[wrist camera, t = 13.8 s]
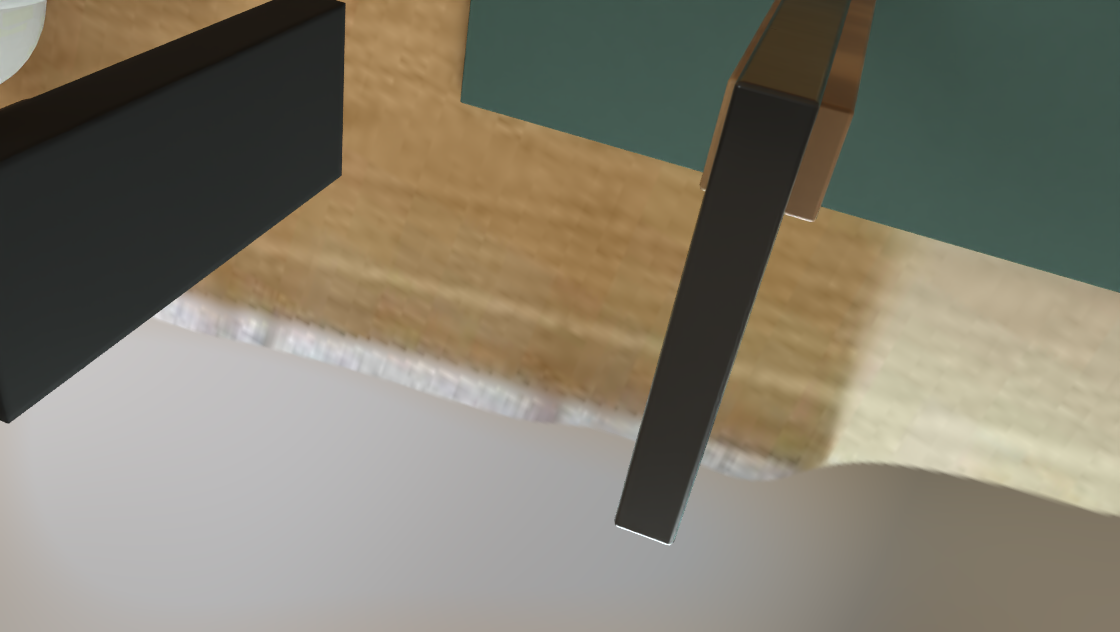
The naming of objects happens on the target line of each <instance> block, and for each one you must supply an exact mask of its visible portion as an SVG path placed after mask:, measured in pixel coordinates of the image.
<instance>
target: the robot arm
mask: <svg viewBox="0 0 1120 632" xmlns="http://www.w3.org/2000/svg"><path fill="white" fill-rule="evenodd" d="M344 45H345V3H344V2H340V1H336V0H272V1H270V2H267V3H265V4H262V5H260V6H257V7H255V8H252V9H250V10H247V11H245V12H242V13H240V14H238V15H235V16H233V17H230V18H228V19H225V20H223V21H220V22H218V23H215V24H213V25H210V26H208V27H206V28H203V29H201V30H198V31H196V32H193V33H191V34H188V35H186V36H183V37H181V38H178V39H176V40H174V41H171V42H169V43H166V44H164V45H161V46H159V47H156V48H154V49H151V50H149V51H146V52H144V53H142V54H139V55H137V56H134V57H132V58H129V59H127V60H124V61H122V62H119V63H117V64H114V65H112V66H110V67H107V68H105V69H102V70H100V71H97V72H95V73H92V74H90V75H87V76H85V77H82V78H80V79H78V80H75V81H73V82H70V83H68V84H65V85H63V86H60V87H58V88H55V89H53V90H50V91H48V92H46V93H43V94H41V95H38V96H36V97H33V98H30V99H25V100H21V101H19V102H16V103H14V104H11V105H9V106H6V107H4V108H1V109H0V420H1V421H3V422H5V423H10V422H11V421H13V420H14V419H15V418H17V417H18V416H20V415H21V414H22V413H24V412H25V411H26V410H28V409H29V408H30V407H32V406H33V405H34V404H36V403H37V402H38V401H40V400H41V399H42V398H44V397H45V396H46V395H48V394H49V393H50V392H52V391H53V390H54V389H56V388H57V387H59V386H60V385H61V384H62V383H64V382H65V381H67V380H68V379H69V378H71V377H72V376H73V375H74V374H76V373H77V372H79V371H80V370H81V369H83V368H84V367H85V366H87V365H88V364H89V363H90V362H92V361H93V360H95V359H96V358H97V357H99V356H100V355H101V354H103V353H104V352H105V351H107V350H108V349H109V348H111V347H112V346H114V345H115V344H116V343H118V342H119V341H120V340H121V339H123V338H124V337H126V336H127V335H128V334H130V333H131V332H132V331H134V330H135V329H136V328H138V327H139V326H140V325H142V324H143V323H144V322H146V321H147V320H148V319H150V318H151V317H152V316H154V315H155V314H156V313H158V312H159V311H160V310H162V309H163V308H164V307H166V306H167V305H169V304H170V303H171V302H173V301H174V300H175V299H177V298H178V297H179V296H181V295H182V294H183V293H185V292H186V291H187V290H189V289H190V288H191V287H193V286H194V285H195V284H197V283H198V282H199V281H201V280H202V279H203V278H205V277H206V276H207V275H209V274H210V273H211V272H213V271H214V270H215V269H217V268H218V267H219V266H221V265H222V264H224V263H225V262H226V261H228V260H229V259H230V258H232V257H233V256H234V255H236V254H237V253H238V252H240V251H241V250H242V249H244V248H245V247H246V246H248V245H249V244H250V243H252V242H253V241H254V240H256V239H257V238H258V237H260V236H261V235H262V234H264V233H265V232H266V231H268V230H269V229H270V228H272V227H273V226H274V225H276V224H277V223H279V222H280V221H281V220H283V219H284V218H285V217H287V216H288V215H289V214H291V213H292V212H293V211H295V210H296V209H297V208H299V207H300V206H301V205H303V204H304V203H305V202H307V201H308V200H309V199H311V198H312V197H313V196H315V195H316V194H317V193H319V192H320V191H321V190H323V189H324V188H325V187H327V186H328V185H329V184H331V183H332V182H334V181H335V180H336V179H338V178H339V177H340V176H342V134H343V89H344Z"/></svg>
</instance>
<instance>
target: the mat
mask: <svg viewBox="0 0 1120 632" xmlns="http://www.w3.org/2000/svg"><path fill="white" fill-rule="evenodd" d="M774 1H775V0H471V3H470V13H469V23H468V33H467V42H466V52H465V62H464V72H463V82H462V92H461V102H462V103H465V104H469V105H472V106H476V107H479V108H482V109H486V110H489V111H493V112H496V113H500V114H503V115H507V116H510V117H514V118H517V119H521V120H524V121H527V122H531V123H534V124H538V125H541V126H545V127H548V128H552V129H555V130H559V131H562V132H566V133H569V134H572V135H576V136H579V137H583V138H586V139H590V140H593V141H597V142H600V143H604V144H607V145H610V146H614V147H617V148H621V149H624V150H628V151H631V152H635V153H638V154H642V155H645V156H649V157H652V158H655V159H659V160H662V161H666V162H669V163H673V164H676V165H680V166H683V167H687V168H690V169H694V170H697V171H700V172H703V171H704V168H705V164H706V160H707V156H708V153H709V149H710V145H711V142H712V138H713V134H714V131H715V127H716V123H717V120H718V116H719V112H720V109H721V105H722V101H723V97H724V94H725V90H726V86H727V83H728V80H729V78H730V77H731V75H732V73H733V71H734V70H735V68H736V66H737V64H738V63H739V61H740V59H741V58H742V56H743V54H744V52H745V51H746V49H747V47H748V45H749V44H750V42H751V40H752V39H753V37H754V35H755V33H756V32H757V30H758V28H759V27H760V25H761V23H762V21H763V20H764V18H765V16H766V14H767V13H768V11H769V9H770V8H771V6H772V4H773V2H774ZM821 207H825V208H828V209H832V210H835V211H839V212H842V213H846V214H849V215H853V216H856V217H860V218H863V219H866V220H870V221H873V222H877V223H880V224H884V225H887V226H891V227H894V228H898V229H901V230H905V231H908V232H911V233H915V234H918V235H922V236H925V237H929V238H932V239H936V240H939V241H943V242H946V243H949V244H953V245H956V246H960V247H963V248H967V249H970V250H974V251H977V252H981V253H984V254H988V255H991V256H994V257H998V258H1001V259H1005V260H1008V261H1012V262H1015V263H1019V264H1022V265H1026V266H1029V267H1033V268H1036V269H1039V270H1043V271H1046V272H1050V273H1053V274H1057V275H1060V276H1064V277H1067V278H1071V279H1074V280H1077V281H1081V282H1084V283H1088V284H1091V285H1095V286H1098V287H1102V288H1105V289H1109V290H1112V291H1116V292H1119V293H1120V0H876V4H875V9H874V15H873V20H872V25H871V30H870V35H869V40H868V45H867V50H866V55H865V60H864V65H863V70H862V75H861V81H860V86H859V91H858V96H857V101H856V106H855V111H854V115H853V118H852V121H851V124H850V127H849V129H848V132H847V135H846V138H845V141H844V143H843V146H842V149H841V152H840V154H839V157H838V160H837V163H836V166H835V168H834V171H833V174H832V177H831V179H830V182H829V185H828V188H827V191H826V193H825V196H824V199H823V202H822V204H821Z"/></svg>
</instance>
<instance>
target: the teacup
mask: <svg viewBox="0 0 1120 632" xmlns="http://www.w3.org/2000/svg"><path fill="white" fill-rule="evenodd" d="M46 4H47V0H0V84H1V83H3V82H4V81H6V80H7V79H9V78H10V77H11V76H12V75H14V74H15V73H16V72H17V71H18V70H19V69H20V68H21V67H22V66H23V65H24V63H25V62H26V61H27V60H28V59H29V57H30V55H31V54H32V52H33V50H34V49H35V47H36V45H37V42H38V40H39V37H40V35H41V32H42V29H43V25H44V20H45V14H46Z"/></svg>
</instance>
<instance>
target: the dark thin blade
mask: <svg viewBox="0 0 1120 632" xmlns="http://www.w3.org/2000/svg"><path fill="white" fill-rule="evenodd" d="M875 4H876V0H775V1H774V2H773V4H772V6H771V8H770V9H769V11H768V13H767V14H766V16H765V18H764V20H763V21H762V23H761V25H760V27H759V28H758V30H757V32H756V33H755V35H754V37H753V39H752V40H751V42H750V44H749V45H748V47H747V49H746V51H745V52H744V54H743V56H742V58H741V59H740V61H739V63H738V64H737V66H736V68H735V70H734V71H733V73H732V75H731V77H730V78H729V80H728V83H727V86H726V90H725V94H724V97H723V101H722V105H721V109H720V112H719V116H718V120H717V123H716V127H715V131H714V134H713V138H712V142H711V145H710V149H709V153H708V156H707V160H706V164H705V168H704V171H703V175H702V179H701V182H700V189H702V190H704V191H705V193H704V197H703V200H702V204H701V208H700V211H699V215H698V219H697V222H696V226H695V229H694V233H693V237H692V240H691V244H690V248H689V251H688V255H687V258H686V262H685V266H684V269H683V273H682V276H681V280H680V284H679V287H678V291H677V295H676V298H675V302H674V305H673V309H672V313H671V316H670V320H669V324H668V327H667V331H666V334H665V338H664V342H663V345H662V349H661V353H660V356H659V360H658V363H657V367H656V371H655V374H654V378H653V382H652V385H651V389H650V392H649V396H648V400H647V403H646V407H645V410H644V414H643V418H642V421H641V425H640V429H639V432H638V436H637V439H636V443H635V447H634V450H633V454H632V458H631V461H630V465H629V468H628V472H627V476H626V479H625V483H624V487H623V490H622V494H621V497H620V501H619V505H618V508H617V512H616V515H615V519H614V521H615V525H616V526H617V527H620V528H623V529H625V530H628V531H631V532H634V533H636V534H639V535H642V536H644V537H647V538H650V539H653V540H655V541H658V542H661V543H664V544H666V545H671V544H672V543H673V542H674V540H675V537H676V534H677V531H678V528H679V525H680V522H681V520H682V517H683V514H684V511H685V508H686V504H687V502H688V498H689V496H690V493H691V489H692V487H693V484H694V481H695V478H696V475H697V472H698V469H699V466H700V463H701V460H702V457H703V454H704V451H705V448H706V445H707V442H708V439H709V436H710V433H711V430H712V427H713V424H714V421H715V418H716V415H717V412H718V409H719V406H720V403H721V400H722V397H723V394H724V391H725V389H726V386H727V383H728V380H729V377H730V374H731V371H732V368H733V365H734V362H735V359H736V356H737V353H738V350H739V347H740V344H741V341H742V338H743V335H744V332H745V329H746V326H747V323H748V320H749V317H750V314H751V311H752V308H753V305H754V302H755V299H756V296H757V293H758V290H759V287H760V284H761V281H762V278H763V275H764V272H765V269H766V266H767V263H768V260H769V257H770V254H771V252H772V249H773V246H774V243H775V240H776V237H777V234H778V231H779V228H780V225H781V222H782V219H783V216H784V214H786V215H789V216H793V217H796V218H799V219H803V220H806V221H810V222H814V221H815V220H816V218H817V216H818V213H819V210H820V207H821V204H822V202H823V199H824V196H825V193H826V191H827V188H828V185H829V182H830V179H831V177H832V174H833V171H834V168H835V166H836V163H837V160H838V157H839V154H840V152H841V149H842V146H843V143H844V141H845V138H846V135H847V132H848V129H849V127H850V124H851V121H852V118H853V115H854V111H855V106H856V101H857V96H858V91H859V86H860V81H861V75H862V70H863V65H864V60H865V55H866V50H867V45H868V40H869V35H870V30H871V25H872V20H873V15H874V9H875Z"/></svg>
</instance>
